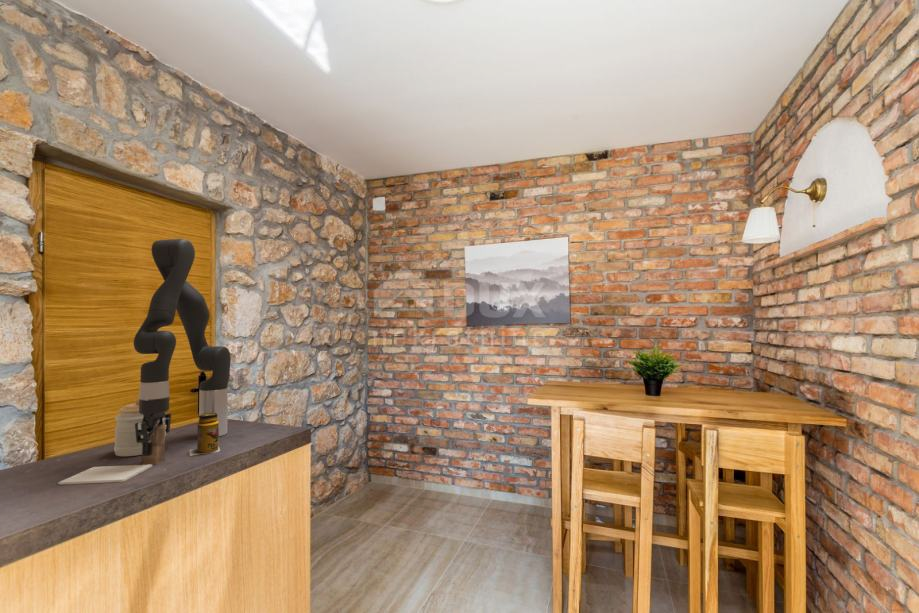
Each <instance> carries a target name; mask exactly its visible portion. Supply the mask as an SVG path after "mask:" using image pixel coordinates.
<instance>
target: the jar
mask: <svg viewBox="0 0 919 613" xmlns="http://www.w3.org/2000/svg"><path fill="white" fill-rule="evenodd" d="M117 411H118V415H116V416H115V417H114V420H115V421H116V426H115V427H114V447H113V448H114V449H113V450H114V454H115V456H116V457H135V456H136V457H137V456H142V443H137V442H136V431H135V424H136V423H140V422H142V420H143V414H140V413H139V397H137V398H136V399H135V401H134V403H130V404H129V403H128V404H126V405H123V406H122V407H121V408H118V410H117ZM140 436H141V437H142V435H140Z"/></svg>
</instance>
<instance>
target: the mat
mask: <svg viewBox="0 0 919 613" xmlns="http://www.w3.org/2000/svg"><path fill="white" fill-rule="evenodd" d="M150 468H153V464H150V465H142V464H133V465H131V464H130V465H108V466H92V467H91V468H87V469H85V470H83V471H81V472H78V473H77V474H74V475H72V476H70V477H67V478H65V479H62V480H60V481H58V485H79V484H80V485H81V484H102V483H103V484H104V483H123V482H126V481H128V480H130V479H132V478H133V477H135V476H137V475H140V474H141V473H143V472H145V471H147V470H149V469H150Z"/></svg>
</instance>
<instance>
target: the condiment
mask: <svg viewBox="0 0 919 613" xmlns="http://www.w3.org/2000/svg"><path fill="white" fill-rule="evenodd" d="M217 416H218V415H217V413H205V414H201V415H200V416H198V423H197V435H196V436H197V438H196V439H197V441H196V442H197V444H196V448H193V449H192V448H191V449H189V457H191V456H197V455H204V454H214V453H219V452H221V449H220V446H219V444H220V442H219V441H220V440H219V439H220V438H219V437H220V436H219V422H218V421H217V419H218V418H217Z"/></svg>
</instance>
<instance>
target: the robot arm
mask: <svg viewBox="0 0 919 613" xmlns="http://www.w3.org/2000/svg"><path fill="white" fill-rule="evenodd" d="M150 248H151V249H150V250H151V256H152V259H153V262H154V263H155V265H156V266H155V267H157V269H158V271H159V273H160V274H161V277H162V278H163V282H162V283H161V284H160V286H159V287H157V289H156V290H155V292H154V294H152V297H151V299H150V300H151V301H150V303H149V307H148V311H147V316H146V317H145V319H144V320H143V322H142V324H141V325H140V327H139V329H138V330H137V332H136V334H135V336H134V339H133V348H134V350H135V351H136V352H137V353H138V354H141V355H156V354H157V357H156V359H155V360H152V361H147V362H144V363H142V364H141V366H140V377H139V378H140V382H139V384H140V385H139V391H138V392H139V393H138V398H139V413H140V414H143V420H142V422H140V423H136V424H135V431H136V442H137V443H142V455H143V456H150V455H151V454H152V443H151V441H152V438H153V435H155V433H156V427H157V426H158V425H163V424H165V437H166V436H167V434H168V433H170V431H171V420H172V413H170V412H169V413H167V412H168V411H169V410H170V381H169V380H170V377H169V374H170V372H169V371H170V370H169V369H170V364H171V360H172V357H173V354H174V353H175V349H176V347H177V339H176V338H177V337H176V336H175V334H174V333H173V332H172V331H170V330H159V329H161V328H163V327H168V326H171V325H172V324H173V323H174V321H175V316H176V312H177V314H178V317H179V319H180V321H181V323H182V326H183V328H184V331H185V334H186V337H187V340H188V343H189V344H188V345H189V348H190V351H191V355H192V359H193V363H194V364H195V367H196V368H197V369H198V370H200V371H205V372H207V371H208V372H211V373H212V374H211V376H210V377H209V378H207V379H206V380H202V381H201V382H199V393H198V394H199V395H198V396H199V401H198V402H199V406H198V407H199V410H198V413H199V414H198V415H199V416H200V415H201V414H205V413H217V415H218V416H217V418H218V419H217V421H218V422H219V437H222V436H225V435H226V434H228V403H229V402H228V397H229V396H228V391H229V388H228V387H229V381H230V375H231V374H230V373H231V372H230V371H231V363H232V362H231V358H232V357H231V352H230V350H229V348H228V347H226V346H222V345H221V346H220V345H219V346H217V345H215V346H214V345H213V346H210V345H209V343H208V342H207V338H206V329H207V326H208V323H209V320H210V309H209V308H208V305H207V301H206V299H205V296H203V294H201V292H200V291H199V290H198V289H196V288H195V287H194V285H192V284H191V283H189V282H188V281H187V279H188V276H189V274H190V271H191V269H192V267H193V264H194V261H195V258H196V253H195V252H196V250H195V247H194V245H193V243H192V242H191V241H190V240H189V239H186V238H171V239H169V238H167V239H158V240H156V241H154V242H153V243H152V244H151V247H150ZM199 416H198V417H199ZM147 431H151V432H147ZM140 435H142V437H141V436H140ZM148 435H149V437H148ZM142 455H141V456H142Z"/></svg>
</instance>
